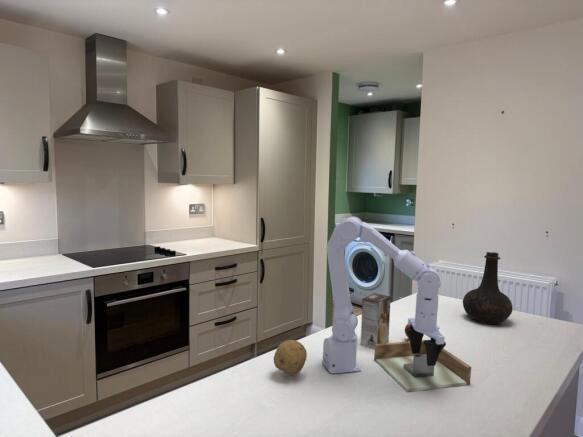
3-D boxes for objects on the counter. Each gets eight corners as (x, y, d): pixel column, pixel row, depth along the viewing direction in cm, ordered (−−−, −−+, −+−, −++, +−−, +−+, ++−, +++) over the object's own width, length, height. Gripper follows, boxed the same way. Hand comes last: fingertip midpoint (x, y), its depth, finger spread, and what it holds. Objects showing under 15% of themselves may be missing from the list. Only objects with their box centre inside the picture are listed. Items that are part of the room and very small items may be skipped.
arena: (407, 392, 105) (408, 373, 104) (374, 359, 123) (374, 344, 123) (470, 384, 110) (471, 367, 109) (429, 354, 128) (430, 339, 128)
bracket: (433, 375, 112) (435, 355, 112) (414, 378, 111) (416, 357, 110) (421, 366, 118) (422, 346, 118) (403, 368, 117) (404, 348, 116)
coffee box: (372, 336, 142) (374, 292, 140) (389, 341, 138) (391, 296, 136) (359, 344, 134) (361, 298, 133) (377, 350, 131) (379, 302, 129)
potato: (277, 384, 107) (278, 348, 106) (270, 369, 115) (271, 335, 114) (309, 381, 109) (311, 345, 108) (300, 366, 118) (301, 333, 117)
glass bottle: (452, 314, 169) (457, 249, 166) (487, 311, 174) (491, 248, 172) (484, 330, 152) (490, 257, 149) (521, 326, 157) (527, 255, 155)
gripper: (456, 319, 104) (452, 369, 106) (424, 302, 118) (421, 347, 120) (432, 321, 103) (428, 372, 104) (402, 304, 117) (400, 349, 118)
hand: (423, 359), depth 112 cm, fingers open, 7 cm apart
